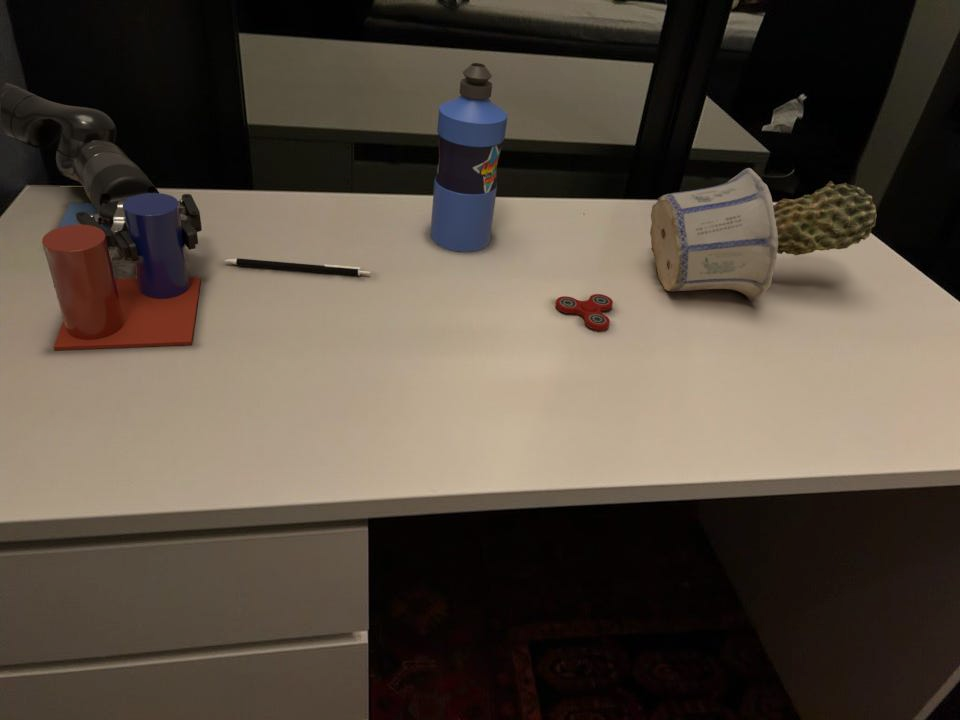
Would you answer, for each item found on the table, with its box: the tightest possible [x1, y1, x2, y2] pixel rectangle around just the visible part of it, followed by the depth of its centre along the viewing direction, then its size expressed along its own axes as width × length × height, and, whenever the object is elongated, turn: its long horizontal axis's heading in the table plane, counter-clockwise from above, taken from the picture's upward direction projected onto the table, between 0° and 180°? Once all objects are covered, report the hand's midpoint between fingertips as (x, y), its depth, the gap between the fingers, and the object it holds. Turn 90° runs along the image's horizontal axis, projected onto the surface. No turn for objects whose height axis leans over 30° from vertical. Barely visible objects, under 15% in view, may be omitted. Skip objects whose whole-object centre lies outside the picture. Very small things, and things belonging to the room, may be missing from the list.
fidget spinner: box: [555, 293, 614, 331], centre depth 97 cm, size 8×7×1 cm
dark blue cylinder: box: [123, 192, 190, 299], centre depth 88 cm, size 6×6×11 cm
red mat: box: [53, 276, 202, 351], centre depth 87 cm, size 14×14×1 cm
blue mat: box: [57, 202, 113, 248], centre depth 102 cm, size 12×12×1 cm
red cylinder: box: [41, 225, 124, 340], centre depth 80 cm, size 6×6×11 cm
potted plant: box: [649, 167, 878, 300], centre depth 102 cm, size 18×18×30 cm
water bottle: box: [429, 62, 508, 253], centre depth 103 cm, size 9×9×25 cm
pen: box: [223, 257, 371, 276], centre depth 98 cm, size 1×19×1 cm, turn 91°
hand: (163, 247), depth 86 cm, fingers closed on dark blue cylinder, 6 cm apart
